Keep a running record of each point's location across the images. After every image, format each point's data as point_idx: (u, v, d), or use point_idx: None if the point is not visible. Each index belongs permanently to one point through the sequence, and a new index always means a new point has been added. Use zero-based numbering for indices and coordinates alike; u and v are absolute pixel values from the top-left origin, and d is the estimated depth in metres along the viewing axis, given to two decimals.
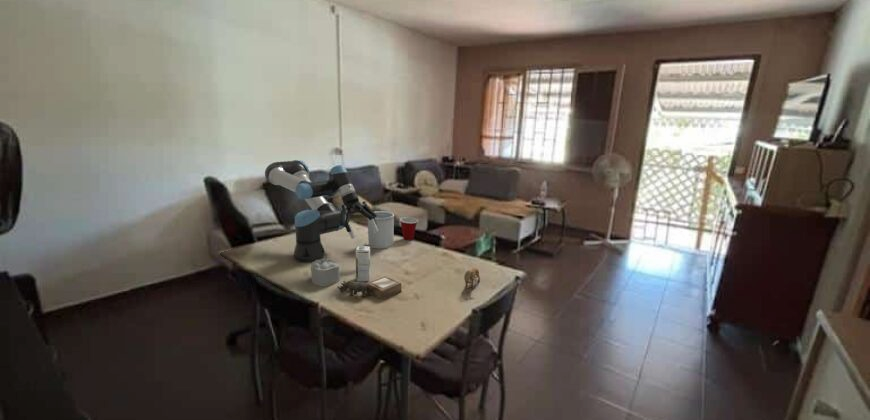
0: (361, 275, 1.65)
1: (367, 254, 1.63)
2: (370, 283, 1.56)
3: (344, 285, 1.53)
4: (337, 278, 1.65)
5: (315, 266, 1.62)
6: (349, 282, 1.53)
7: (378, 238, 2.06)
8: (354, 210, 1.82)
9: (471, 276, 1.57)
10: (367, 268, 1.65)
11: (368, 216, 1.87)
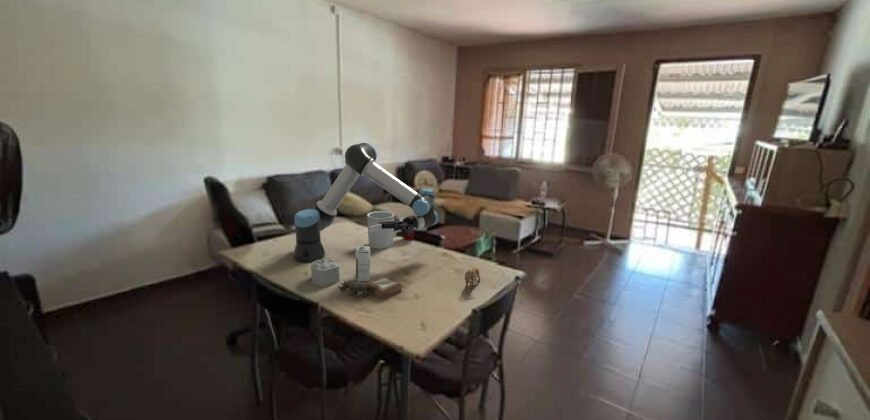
0: (361, 275, 1.65)
1: (367, 254, 1.63)
2: (370, 283, 1.56)
3: (344, 285, 1.53)
4: (337, 278, 1.65)
5: (315, 266, 1.62)
6: (349, 282, 1.53)
7: (378, 238, 2.06)
8: None
9: (472, 276, 1.57)
10: (367, 268, 1.65)
11: (385, 226, 1.81)
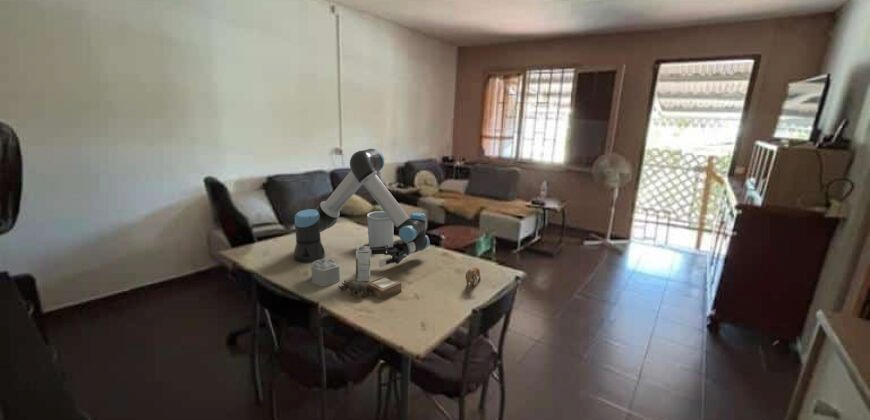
0: (361, 275, 1.65)
1: (367, 254, 1.63)
2: (370, 283, 1.56)
3: (345, 285, 1.53)
4: (337, 278, 1.65)
5: (315, 266, 1.62)
6: (350, 282, 1.53)
7: (378, 238, 2.06)
8: None
9: (472, 275, 1.58)
10: (367, 268, 1.65)
11: (375, 252, 1.79)
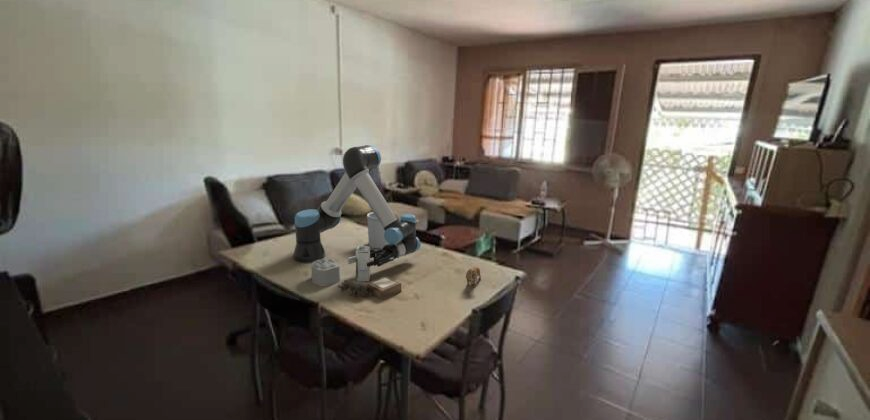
0: (361, 275, 1.65)
1: (367, 254, 1.63)
2: (370, 283, 1.56)
3: (345, 284, 1.54)
4: (337, 278, 1.65)
5: (315, 266, 1.62)
6: (350, 282, 1.53)
7: (378, 238, 2.06)
8: None
9: (473, 274, 1.59)
10: (367, 268, 1.65)
11: None
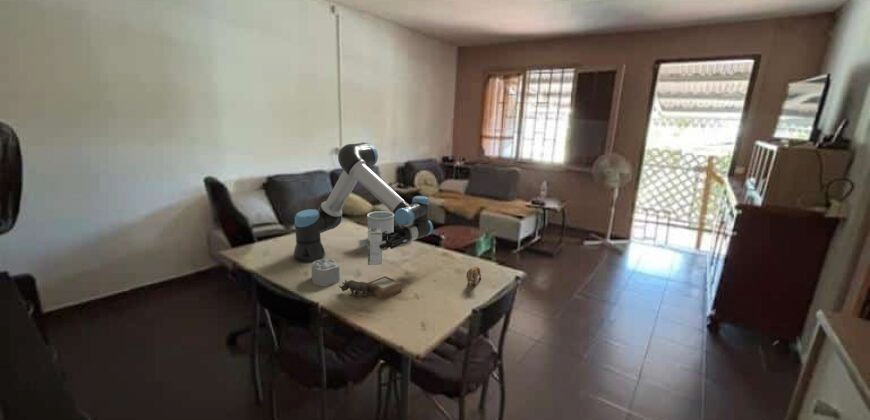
0: (373, 258, 1.57)
1: (379, 235, 1.55)
2: (370, 283, 1.56)
3: (345, 284, 1.54)
4: (337, 278, 1.65)
5: (315, 266, 1.62)
6: (350, 281, 1.53)
7: None
8: None
9: (474, 274, 1.59)
10: (379, 250, 1.57)
11: None
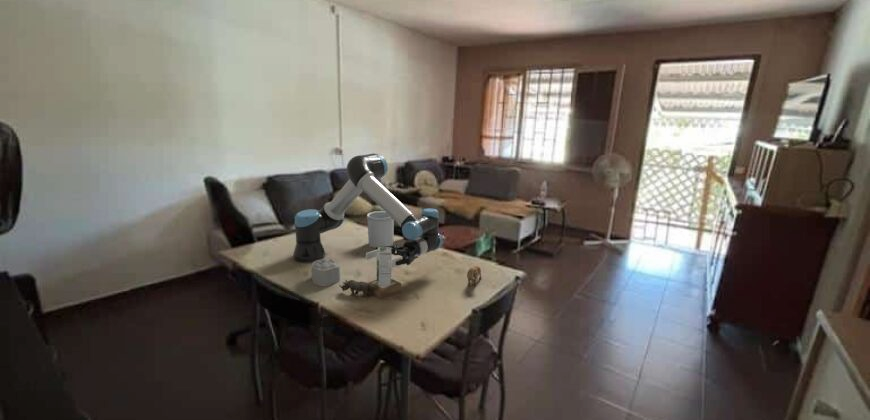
0: (382, 278, 1.53)
1: (389, 256, 1.51)
2: (370, 283, 1.56)
3: (346, 284, 1.54)
4: (338, 278, 1.65)
5: (316, 266, 1.62)
6: (350, 281, 1.53)
7: (378, 238, 2.06)
8: None
9: (474, 274, 1.60)
10: (389, 271, 1.52)
11: None
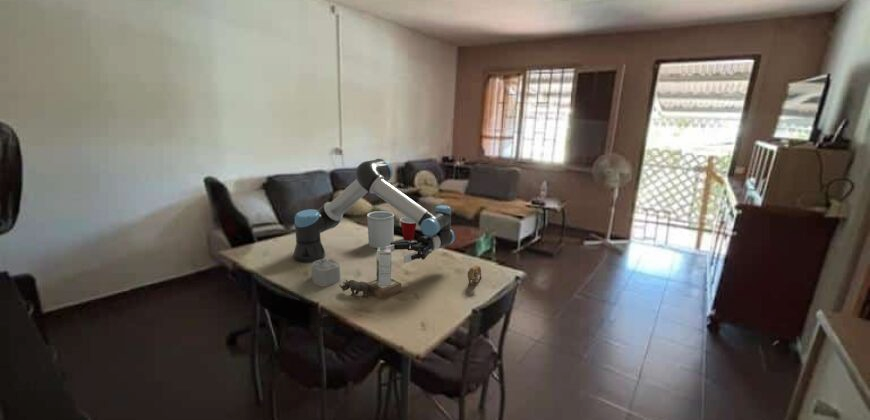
0: (382, 278, 1.53)
1: (389, 256, 1.51)
2: (370, 283, 1.56)
3: (346, 284, 1.54)
4: (338, 278, 1.65)
5: (316, 266, 1.62)
6: (351, 281, 1.53)
7: (378, 238, 2.06)
8: None
9: (475, 273, 1.60)
10: (389, 271, 1.52)
11: (398, 247, 1.67)
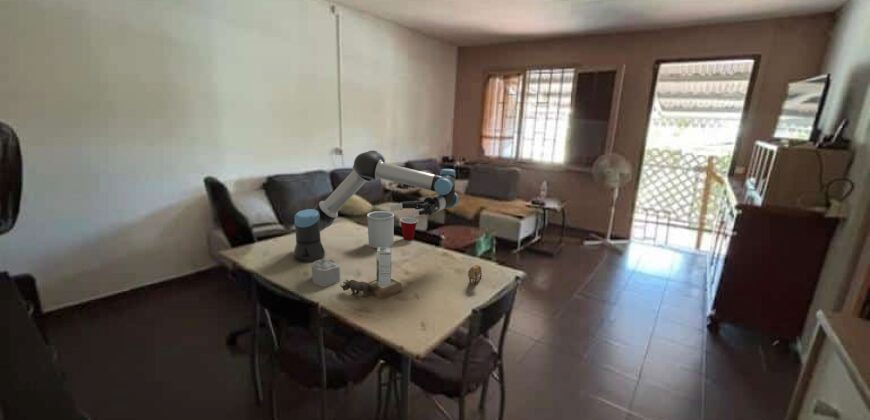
0: (382, 278, 1.53)
1: (389, 256, 1.51)
2: (370, 283, 1.56)
3: (346, 284, 1.54)
4: (338, 278, 1.65)
5: (316, 266, 1.62)
6: (351, 281, 1.54)
7: (378, 238, 2.06)
8: (423, 209, 1.76)
9: (475, 272, 1.61)
10: (389, 271, 1.52)
11: (406, 206, 1.77)
